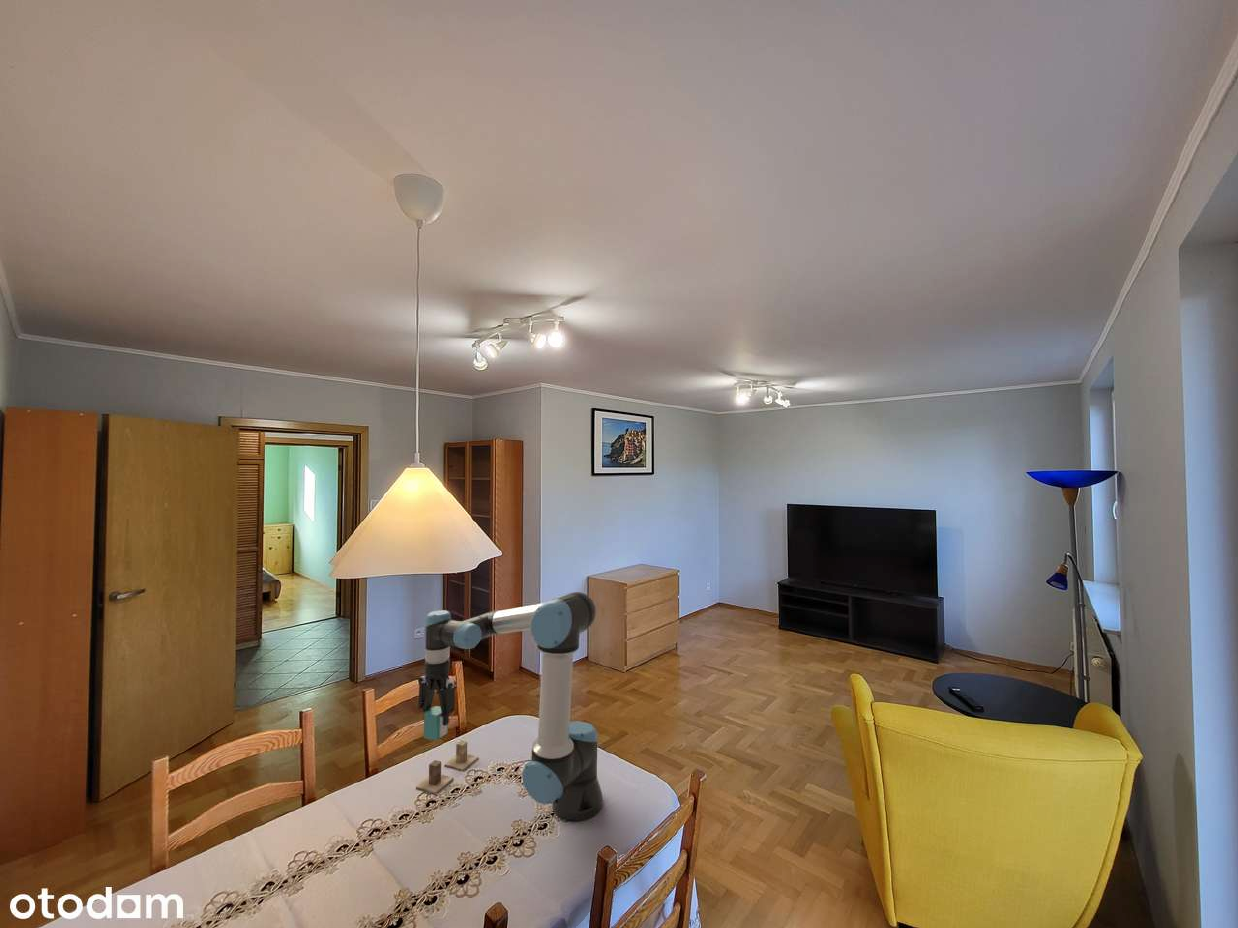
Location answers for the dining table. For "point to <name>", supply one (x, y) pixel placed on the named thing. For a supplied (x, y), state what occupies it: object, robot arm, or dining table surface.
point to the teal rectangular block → (432, 723)
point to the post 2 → (461, 757)
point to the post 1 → (434, 779)
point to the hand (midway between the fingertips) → (435, 732)
